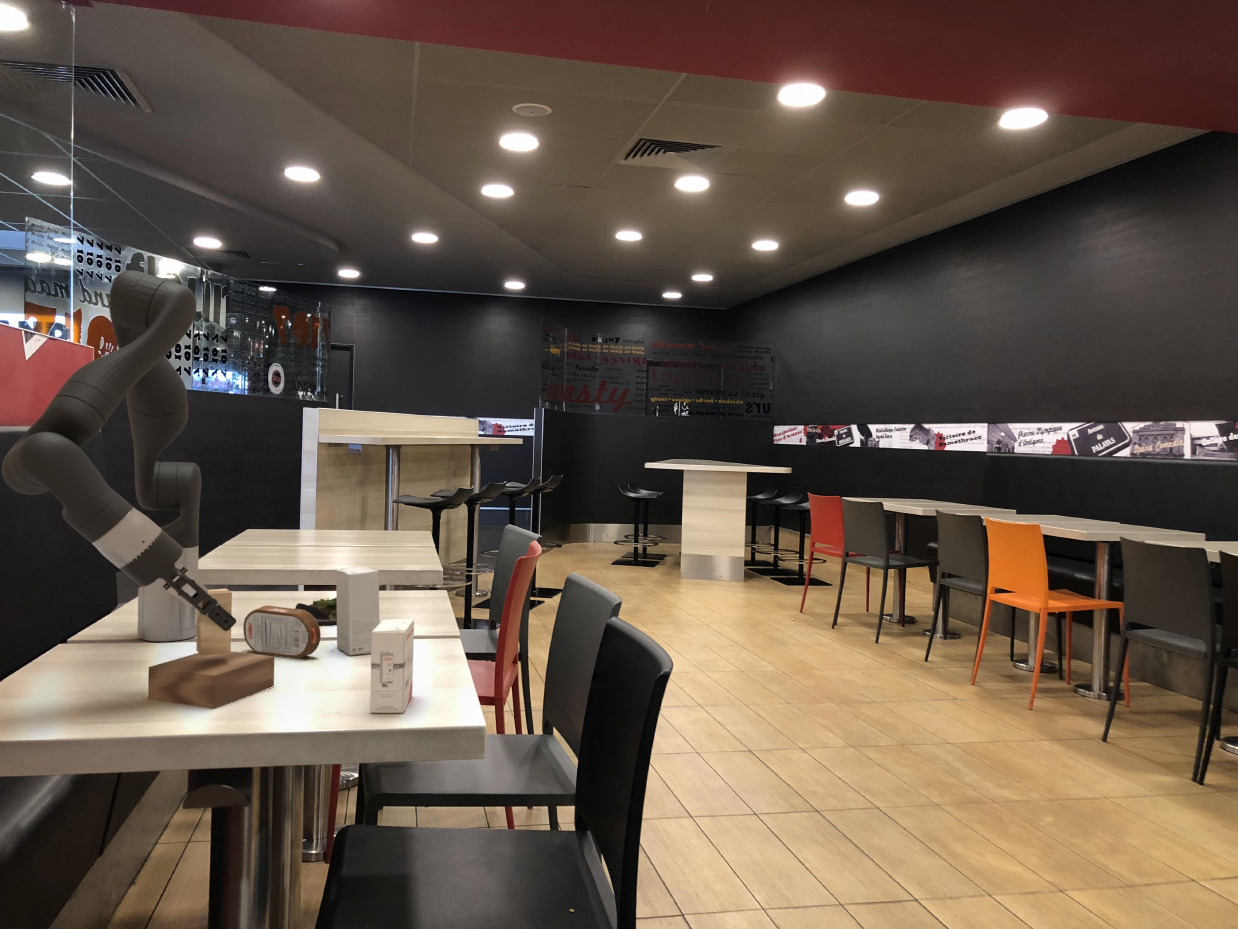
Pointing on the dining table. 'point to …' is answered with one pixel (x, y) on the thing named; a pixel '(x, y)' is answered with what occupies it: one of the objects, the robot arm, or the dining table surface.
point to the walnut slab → (210, 678)
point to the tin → (281, 631)
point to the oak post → (214, 626)
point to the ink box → (392, 666)
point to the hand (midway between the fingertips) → (228, 623)
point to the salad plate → (322, 611)
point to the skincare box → (357, 608)
